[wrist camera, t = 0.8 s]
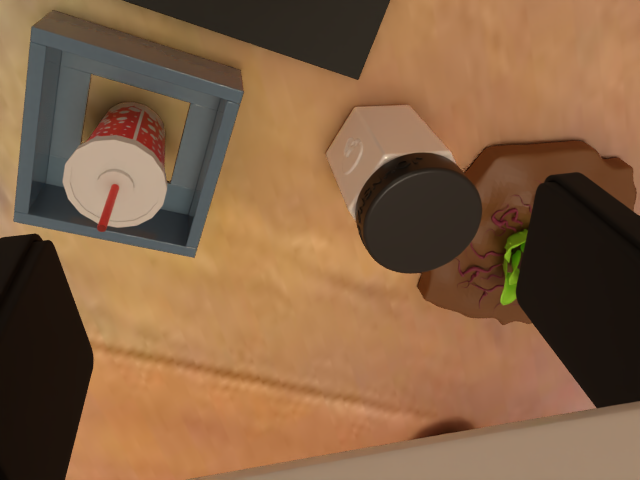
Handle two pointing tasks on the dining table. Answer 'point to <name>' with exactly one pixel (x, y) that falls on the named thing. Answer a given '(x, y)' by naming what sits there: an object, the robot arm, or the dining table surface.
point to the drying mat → (290, 26)
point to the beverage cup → (119, 168)
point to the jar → (403, 189)
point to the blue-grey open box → (69, 114)
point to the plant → (513, 223)
